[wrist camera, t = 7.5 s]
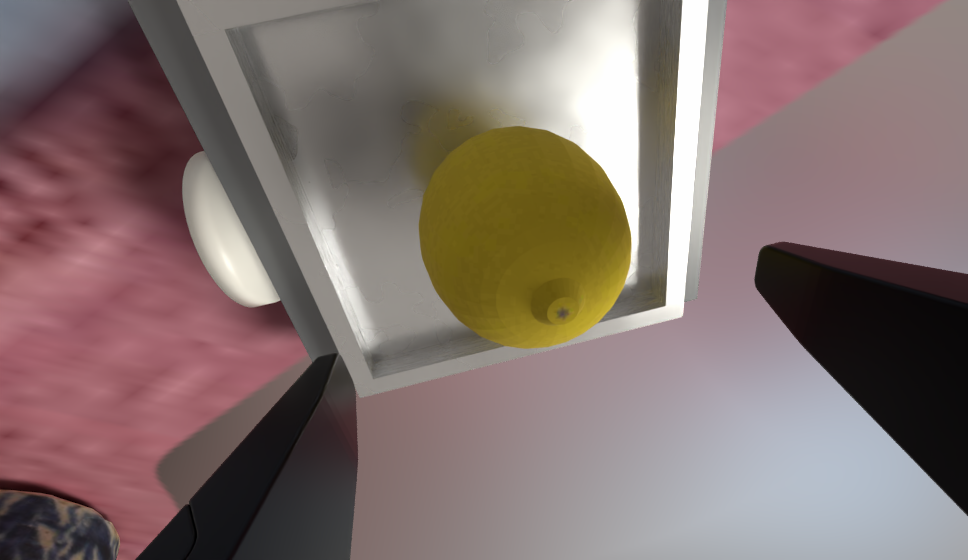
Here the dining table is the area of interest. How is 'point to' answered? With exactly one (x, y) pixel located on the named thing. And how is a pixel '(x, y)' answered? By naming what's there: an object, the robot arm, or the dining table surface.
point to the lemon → (524, 237)
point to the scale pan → (451, 144)
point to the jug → (53, 529)
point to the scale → (248, 213)
